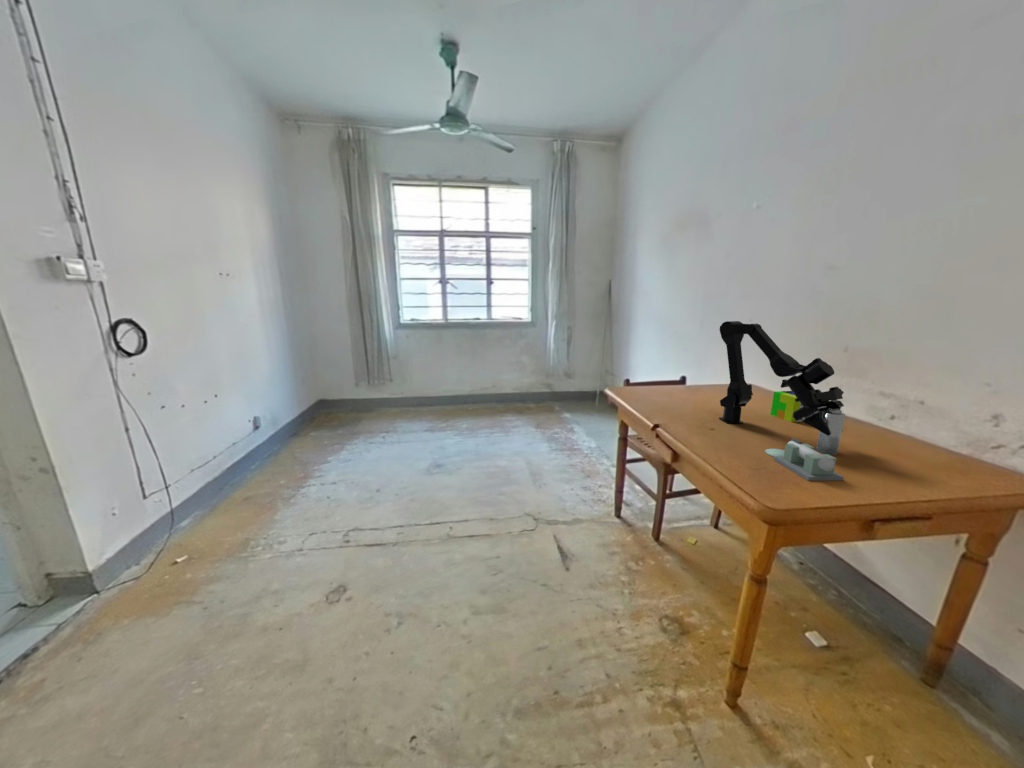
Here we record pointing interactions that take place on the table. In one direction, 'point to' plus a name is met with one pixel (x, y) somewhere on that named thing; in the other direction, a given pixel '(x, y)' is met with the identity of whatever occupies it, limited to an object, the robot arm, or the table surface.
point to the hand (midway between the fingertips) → (835, 433)
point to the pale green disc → (775, 452)
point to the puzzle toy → (785, 405)
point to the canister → (831, 431)
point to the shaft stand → (808, 462)
